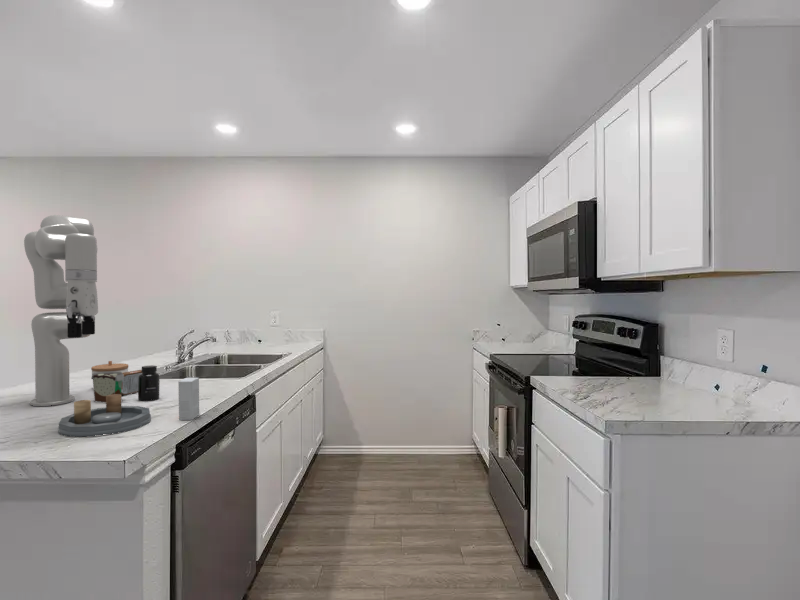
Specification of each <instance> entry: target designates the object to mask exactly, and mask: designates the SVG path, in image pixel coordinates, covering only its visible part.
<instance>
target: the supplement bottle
mask: <svg viewBox="0 0 800 600" xmlns="http://www.w3.org/2000/svg"><path fill="white" fill-rule="evenodd" d="M140 370H141V372H142V374H140V375H139V377H138V392H137V399H138V400H139V401H140V402H148V401H155V400H158V399H159V398H160V380H161V379H160V378H161V377H160V373H157V371H158V370H157V365H154V364H153V365H144V366H141V369H140Z"/></svg>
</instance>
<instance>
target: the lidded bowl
mask: <svg viewBox="0 0 800 600" xmlns="http://www.w3.org/2000/svg"><path fill="white" fill-rule="evenodd" d="M90 371H91V374H92V373H98V372H122V373H124V372H129V364H128V363H119V362H117V363H113V360H108V363H104V364H98V365H94V366H92V367H91V369H90Z"/></svg>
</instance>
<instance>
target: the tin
mask: <svg viewBox="0 0 800 600" xmlns="http://www.w3.org/2000/svg"><path fill="white" fill-rule="evenodd" d="M141 370H142V369H139V370H138V369H137V370H131V371H130V370H129V371H128V372H124V373H123V375H124V379H123V380H122V388H121V396H127V395H131V394H138V377H139V375H140V374H142V372H141Z"/></svg>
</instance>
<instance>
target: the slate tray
mask: <svg viewBox="0 0 800 600" xmlns="http://www.w3.org/2000/svg"><path fill="white" fill-rule="evenodd" d="M150 412H151V411H150V408H149V407H144V406H140V405H121V413H118V412H110V413H106V406H105V407H98V408H91V422H88V423H84V424H74V413H72V414H69V415H66V416H64V417H62V418H61V419H60V421H59V422H58V428H57V430H58V432H57V433H58V434H59V433H60V434H59V435H61V434H62V435H61V436H64V435H65V437H70V436H75V437H74V438H83V437H82V436H93V437H96V436H95V435H103V434H110V435H113V434H112V433H116V434H119V433H118V432H121V433H125V432H128V431H133V430H136V429H139V428H141V427H144V426H146V425H148V424H149V423H150V422H151V421H152V415H151V413H150ZM124 431H125V432H124ZM76 436H78V437H76ZM103 436H104V435H103Z"/></svg>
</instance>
